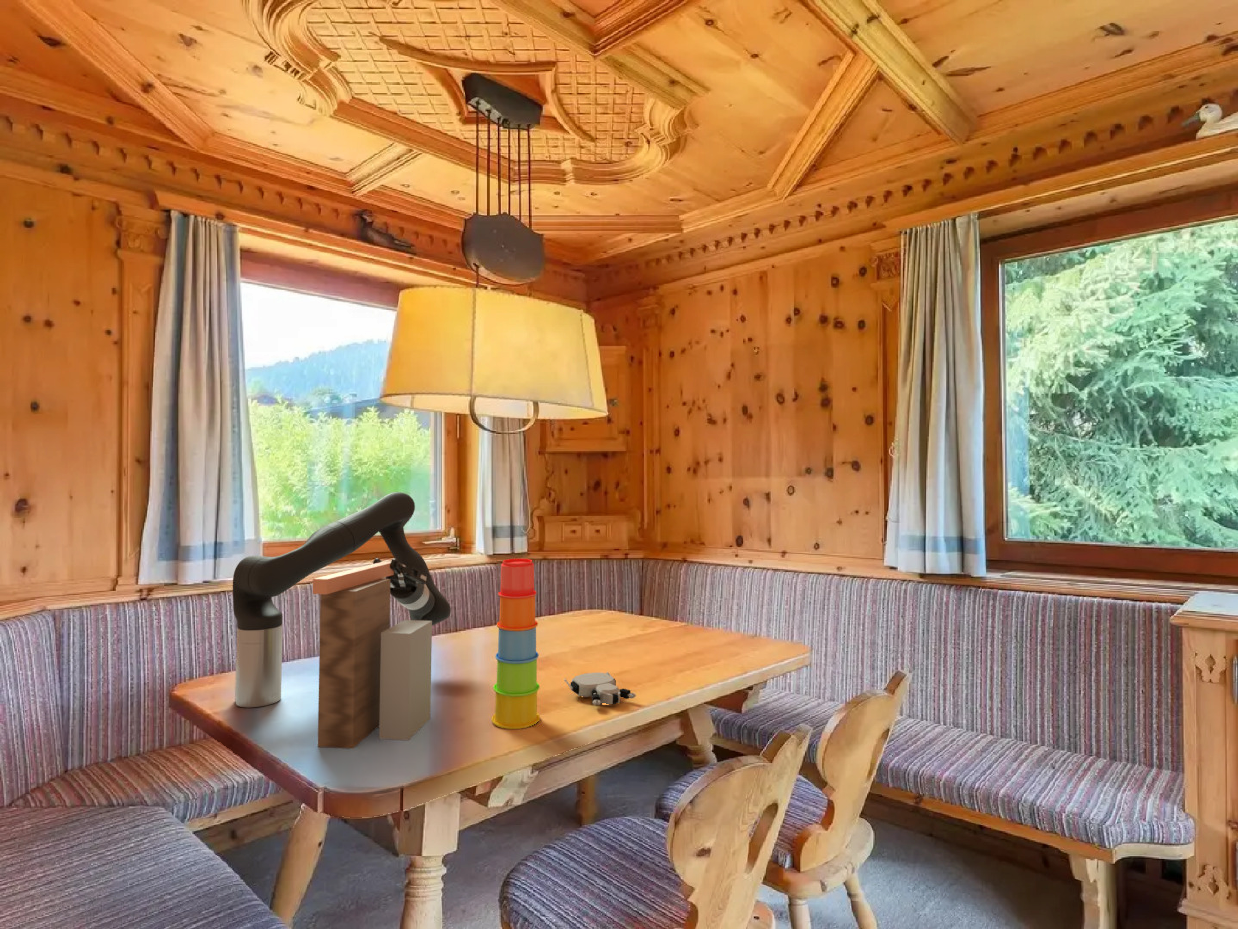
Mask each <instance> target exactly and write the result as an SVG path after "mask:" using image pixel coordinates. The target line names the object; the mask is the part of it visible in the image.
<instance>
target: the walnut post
mask: <svg viewBox="0 0 1238 929" xmlns="http://www.w3.org/2000/svg"><path fill="white" fill-rule="evenodd" d="M319 604H320V608H319V651H318V652H319V653H318V654H319V655H318V656H319V657H318V659H319V660H318V663H319V664H318V703H317V704H318V708H317V710H318V712H317V713H318V714H317V717H318V718H317V747H318V748H335V749H337V748H339V749H354V748H355V747H357V746H358V745H359V744H360V743H361V742H362V741H363V740H364V739H365V738H367V737H368V736H369V735H370V734H372V733H373V732H374V731H375V730H376V729H378V728H379V722H380V665H381V633H382V632H383V631H385V630H387V629H389V628H391V627H390V626H391V624H390V623H391V594H390V579H377V580H374V581H370V582H367V583H364V584H360V585H357V586H353V587H350V588H347V589H343V590H340V591H336V592H333V593H330V594H320V603H319Z"/></svg>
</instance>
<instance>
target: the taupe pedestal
mask: <svg viewBox="0 0 1238 929" xmlns="http://www.w3.org/2000/svg"><path fill="white" fill-rule="evenodd" d="M432 632H433V626H432V621H420V620H410V619H405V620H402V621H400V622H399V623H397V624H395V625H393V626H391V627H390V628H389V629H387V630H385V631H383V632H382V633H381V665H380V722H379V727H378V728H379V731H378V734H379V735H378V736H379V737H378V739H379V740H394V741H395V740H396V741H397V740H398V741H409V740H411V738H412V737H413V736H415V735H416V733H418V731H420V729H422V727H423V726H424V725H425V724H427V723H428V722H429V721H430V719H431V708H432V706H431V704H432V701H431V700H432V699H431V698H432V687H431V686H432V646H433V645H432V644H433V643H432V639H433V633H432Z"/></svg>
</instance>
